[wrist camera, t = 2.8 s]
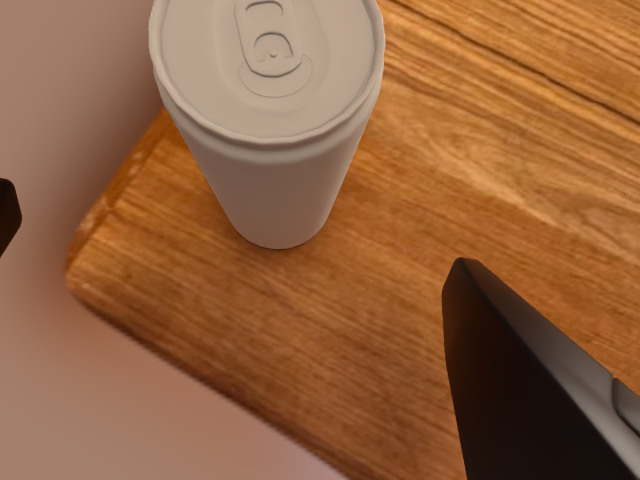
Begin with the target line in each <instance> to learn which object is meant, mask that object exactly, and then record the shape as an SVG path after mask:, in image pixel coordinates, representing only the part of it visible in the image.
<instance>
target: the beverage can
mask: <svg viewBox="0 0 640 480" xmlns="http://www.w3.org/2000/svg"><path fill="white" fill-rule="evenodd" d="M148 28H149V30H148V32H149V53H150V56H151V59H152V62H153V74H154V77H155V80H156V82H157V86H158V89H159V92H160V95H161V98H162V101H163V103H164V106H165V107H166V109H167V111H168V113H169V115H170V116H171V118H172V120H173V122H174V123H175V125H176V127H177V129H178V130H179V132H180V134H181V136H182V138H183V139H184V141H185V143H186V145H187V146H188V148H189V150H190V152H191V153H192V155H193V157H194V159H195V161H196V162H197V164H198V166H199V168H200V169H201V171H202V173H203V175H204V176H205V178H206V180H207V182H208V183H209V185H210V187H211V189H212V191H213V192H214V194H215V196H216V198H217V199H218V201H219V203H220V205H221V206H222V208H223V210H224V212H225V214H226V215H227V217H228V219H229V220H230V222H231V223H232V225H233V226H234V228H235V229H236V231H237V232H238V233H239V234H241V235H242V236H243V237H244V238H245V239H247V240H248V241H250V242H252V243H254V244H256V245H258V246H260V247H265V248H271V249H286V248H292V247H295V246H297V245H300V244H303V243H305V242H306V241H308V240H309V239H311V238H312V237H313V236H315V235H316V234H317V233H318V231H319V230H320V229H321V228H322V227H323V225H324V224H325V222H326V220H327V218H328V215H329V213H330V211H331V209H332V206H333V204H334V201H335V199H336V197H337V194H338V192H339V189H340V187H341V185H342V182H343V180H344V177H345V175H346V173H347V170H348V168H349V165H350V163H351V161H352V158H353V156H354V153H355V151H356V149H357V146H358V144H359V141H360V139H361V137H362V134H363V132H364V129H365V127H366V124H367V122H368V120H369V117H370V115H371V112H372V110H373V108H374V105H375V103H376V100H377V98H378V96H379V92H380V86H381V80H382V74H383V67H384V62H383V57H384V50H385V44H386V42H385V34H384V26H383V18H382V14H381V12H380V10H379V7H378V5H377V3H376V0H154V4H153V8H152V11H151V15H150V18H149V22H148Z"/></svg>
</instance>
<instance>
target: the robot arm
mask: <svg viewBox="0 0 640 480" xmlns="http://www.w3.org/2000/svg"><path fill="white" fill-rule="evenodd" d="M21 222H22V214H21V210H20V206H19V202H18V198H17V194H16V190H15V187H14V185H13V183H12V182H11V181H9V180H7V179H3V178H0V257H1V256H2V254H3V253H4V251H5V250H6V248H7V246H8V245H9V243H10V242H11V240H12V239H13V237H14V236H15V234H16V232H17V231H18V229H19V228H20V225H21ZM442 314H443V331H444V347H445V359H446V366H447V373H448V378H449V383H450V389H451V394H452V400H453V405H454V410H455V416H456V421H457V427H458V432H459V437H460V443H461V448H462V454H463V459H464V465H465V470H466V475H467V480H640V397H639V396H638V395H636V394H635V393H634V392H633V391H632V390H630V389H629V388H628V387H627V386H626V385H625V384H623V383H622V382H621V381H620V380H619V379H618V378H613V375H612V373H610V372H609V371H608V370H607V369H606V368H604V367H603V366H602V365H601V364H600V363H599V362H597V361H596V360H595V359H594V358H593V357H591V356H590V355H589V354H588V353H587V352H586V351H584V350H583V349H582V348H581V347H580V346H578V345H577V344H576V343H575V342H574V341H573V340H571V339H570V338H569V337H568V336H567V335H565V334H564V333H563V332H562V331H561V330H560V329H558V328H557V327H556V326H555V325H554V324H552V323H551V322H550V321H549V320H548V319H547V318H545V317H544V316H543V315H542V314H541V313H540V312H538V311H537V310H536V309H535V308H534V307H532V306H531V305H530V304H529V303H528V302H527V301H525V300H524V299H523V298H522V297H521V296H519V295H518V294H517V293H516V292H515V291H514V290H512V289H511V288H510V287H509V286H508V285H506V284H505V283H504V282H503V281H502V280H501V279H499V278H498V277H497V276H496V275H495V274H493V273H492V272H491V271H490V270H489V269H488V268H486V267H485V266H484V265H483V264H482V263H480V262H479V261H478V260H475V259H469V258H463V257H459V258H457V259H456V260H455V261H454V263H453V265H452V268H451V270H450V272H449V275H448V277H447V279H446V282H445V284H444V286H443V290H442Z"/></svg>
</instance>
